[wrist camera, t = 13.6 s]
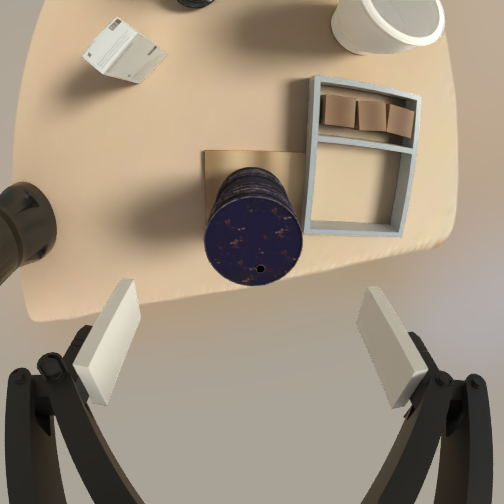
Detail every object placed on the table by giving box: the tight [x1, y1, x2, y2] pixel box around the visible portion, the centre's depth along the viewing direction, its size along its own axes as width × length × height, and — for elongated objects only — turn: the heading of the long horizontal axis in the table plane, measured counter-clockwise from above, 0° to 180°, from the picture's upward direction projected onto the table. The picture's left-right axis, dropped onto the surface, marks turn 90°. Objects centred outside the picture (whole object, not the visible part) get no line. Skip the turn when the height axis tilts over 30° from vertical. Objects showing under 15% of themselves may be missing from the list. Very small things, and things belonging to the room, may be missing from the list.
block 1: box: [319, 94, 356, 128], centre depth 35 cm, size 4×4×4 cm
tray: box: [300, 75, 422, 238], centre depth 39 cm, size 16×22×3 cm
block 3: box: [384, 104, 414, 138], centre depth 36 cm, size 4×4×4 cm
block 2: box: [350, 101, 386, 131], centre depth 36 cm, size 4×4×4 cm
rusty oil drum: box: [204, 167, 303, 286], centre depth 36 cm, size 10×10×15 cm
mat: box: [205, 150, 306, 228], centre depth 43 cm, size 14×14×1 cm
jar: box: [331, 0, 445, 55], centre depth 24 cm, size 11×10×15 cm
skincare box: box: [82, 17, 167, 84], centre depth 28 cm, size 6×4×12 cm
